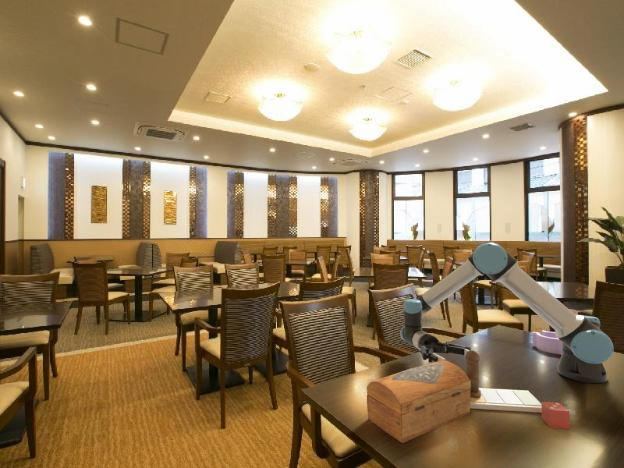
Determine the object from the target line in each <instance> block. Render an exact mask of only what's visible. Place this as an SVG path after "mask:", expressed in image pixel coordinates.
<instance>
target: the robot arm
mask: <svg viewBox="0 0 624 468" xmlns="http://www.w3.org/2000/svg"><path fill="white" fill-rule="evenodd" d="M484 275H486V276H487V277H488V278H490V279H491V280H492V281H493V282H494V283H501V284H502V285H503V286H504V287H506V288H507V289H508V290H509V291H510V292H512V293H513V295H515V297H517V298H519V300H520V301H522V302H523V303H524V304H525V305H526V306H528V308H530V310H532V311H533V312H534V313H535V314H536V315H538V317H540V318H541V319H542V320H543V321H544V322H545V323H547V324H548V325H549V326H550V327H551V328H552V329H553V330H554V332H556V337H557V338H558V339H559V340H561V341H562V349H563V350H562V351H563V352H562V355H561V356H560V358H559V361H558V363H557V373H558V374H560V375H561V376H563V377H565V378H567V379H569V380H574V381H577V382H582V383H587V384H603V383H606V382H607V381H608V373H607V371H606V368H605V366H604V364H603V363H606V362H607V361H608V360H610V359H611V358H612V356H613V354H614V349H615V348H614V343H613V341H612V339H611V338H610V336H609V335H608V334H606V333H605V332H604V331H603V330H602V329H601V322H600V319H599V318H598V317H595V316H589V315H583V314H575V313H574V312H573V311H572V310H570V309H569V308H568V307H567V306H565V304H563V303H562V302H561V301H560V300H559V299H557V298H556V297H555V296H553V295H552V294H551V293H550V292H549V291H548V290H546V289H545V288H544V287H543V286H542V285H541V284H539V283H538V282H537V281H536V280H534V278H533V277H532V276H530V275H529V274H527V273H526V271H524V270H523V269H522V268H521V267H520V266H519V261H518V260H517V258H515V257H514V256H513V255H512V254H510V253H509V252H508V251H507V250H506V249H505V248H504V247H503V246H502V245H500V244H499V243H497V242H494V241H493V242H492V241H487V242H483V243H482V244H481V243H480V245H478V246H477V247H476V249H474V251H473V253H472V254H470V255H469V256H468V257H467V258H466V261H465V262H464V263H463V264H461V265H460V266H458V267H457V268H456V269H455V270H453V271H452V272H450V273H449V274H448V275H447V276H445V277H444V278H443V279H441V280H440V281H438V282H437V283H436V284H434V285H433V286H432V287H430V288H429V289H428V290H426V291H425V292H424V293H422V294H421V295H420V296H418V297H417V298H415V299H414V298H409V299H405V300H404V301H403V326H402V327H401V329H400V331H399V336H400V339H402V341H404V342H405V343H406V344H408V345H410V346H413V347H414V348H416V349H418V353H420V355H421V357H422V360H423V361H427V360H428V363H433V362H438V361H447V359H446V358H445V357H443V356H441V355H439V354H449V353H450V354H455V355H461V356H464V357H465V355H466V353H467V352H468V351H472V350H471V347H470V346H468V345H467V346H465V345H461V344H457V343H453V342H449V341H446V342H445V343H444V342H441V341H440V340H439V339H438V337H436V336H434V335H432V334H430V333H429V332H426V331H424V330H423V316H424V315H425V314H427V313H428V312H430V311H431V310H432V309H434V307H436V306H438V305H439V304H441V302H443V301H445V300H446V299H447V298H449V297H450V296H452V295H453V294H455V293H456V292H458V291H459V290H460V289H462V288H463V287H464V286H466V285H467V284H469V283H470V282H472V281H473V280H474V279H476V278H478V277H480V276H481V277H482V276H484Z"/></svg>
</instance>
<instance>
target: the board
mask: <svg viewBox="0 0 624 468" xmlns="http://www.w3.org/2000/svg"><path fill="white" fill-rule="evenodd" d="M479 390H480V391H481V397H480V398H472V397H470V398H471V400H470V409H478V410H479V409H481V410H493V411H509V412H511V411H512V412H525V413H527V412H528V413H541V414H542V402H540V401H539V400H538V398H536V397H535V396H534V395H533V394H532V393H531V392H530V391H529V390H524V389H523V390H522V389H505V388H504V389H503V388H487V387H486V388H484V387H479Z"/></svg>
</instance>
